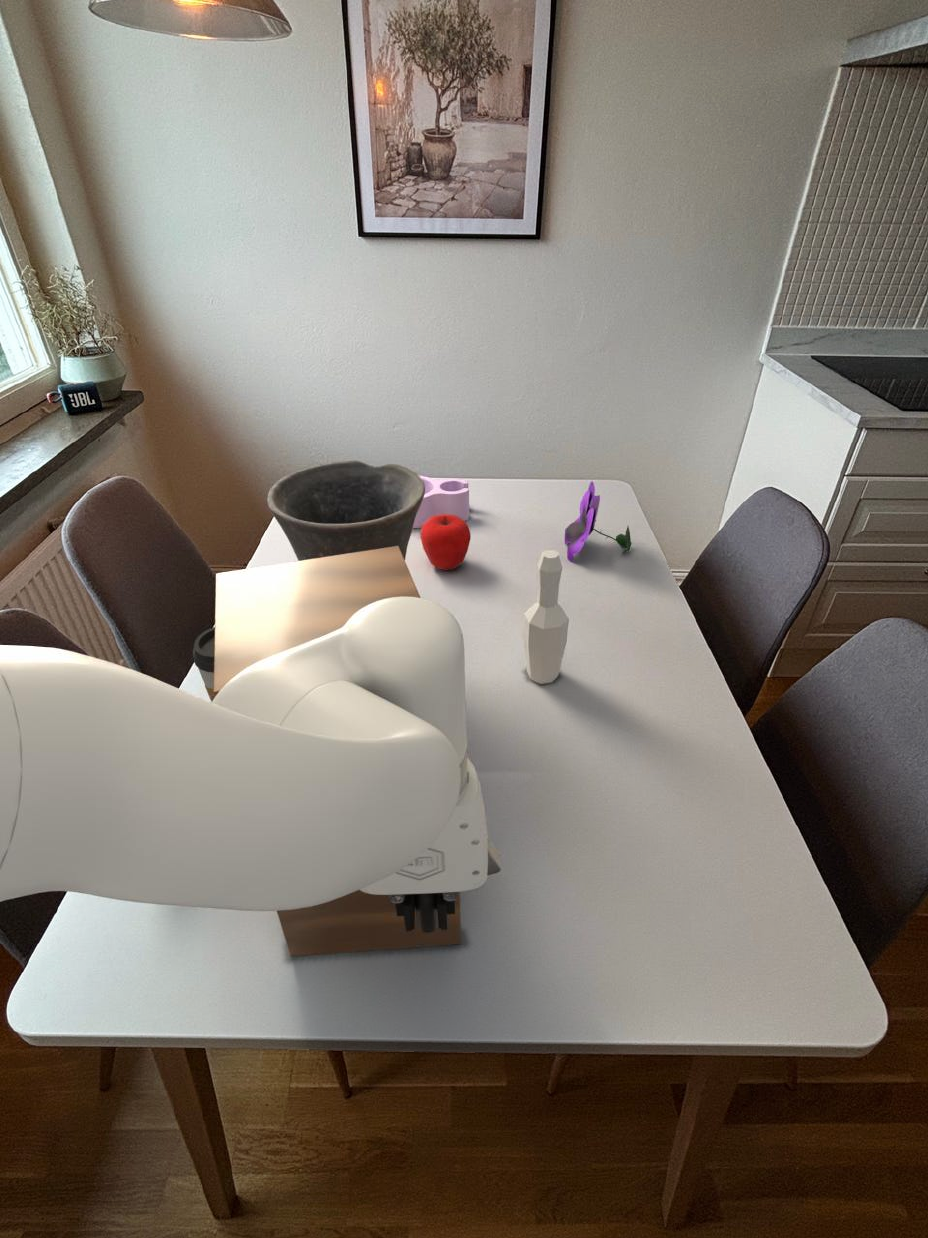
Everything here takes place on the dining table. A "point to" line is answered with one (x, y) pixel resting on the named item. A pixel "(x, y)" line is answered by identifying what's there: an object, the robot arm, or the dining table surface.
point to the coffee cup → (206, 659)
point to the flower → (589, 525)
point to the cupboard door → (366, 925)
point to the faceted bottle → (546, 623)
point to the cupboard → (298, 603)
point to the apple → (445, 540)
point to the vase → (346, 508)
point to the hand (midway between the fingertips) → (426, 913)
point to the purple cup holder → (443, 499)
